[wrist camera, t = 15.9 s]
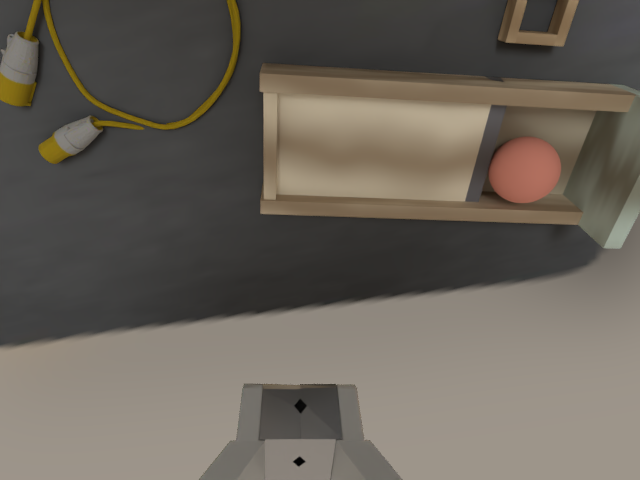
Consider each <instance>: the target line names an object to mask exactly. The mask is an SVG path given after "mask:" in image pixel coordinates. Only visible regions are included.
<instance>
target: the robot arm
mask: <svg viewBox="0 0 640 480" xmlns="http://www.w3.org/2000/svg"><path fill="white" fill-rule="evenodd" d="M199 480H402V479H401V477H400V476H399V475H398V474H397V473H396V471H395V470H394V469H393V468H392V466H391V465H390V464H389V463H388V462H387V460H385V458H384V457H383V456H382V454H381V453H380V452H379V451H378V449H377V448H376V447H375V446H374V445H373V444H372V442H371V441H370V440H364V435H363V429H362V421H361V414H360V408H359V401H358V395H357V388H356V386H355V385H336V384H304V385H303V384H300V385H278V384H244V386H243V389H242V397H241V406H240V413H239V421H238V429H237V438H236V441H230V442H229V443H228V444H227V446H226V447H225V448H224V449H223V450H222V452H221V453H220V454H219V455H218V457H217V458H216V459H215V460H214V462H213V463H212V464H211V465H210V466H209V468H208V469H207V470H206V471H205V473H204V474H203V475H202V476H201V478H200V479H199Z"/></svg>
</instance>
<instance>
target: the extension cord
mask: <svg viewBox="0 0 640 480" xmlns="http://www.w3.org/2000/svg"><path fill="white" fill-rule="evenodd" d="M41 1H42V3H43V10H44V14H45V18H46V22H47V25H48V29H49V32H50V34H51V37H52V40H53V42H54V45H55V47H56V49H57V51H58V53H59V55H60V57H61V59H62V61H63V63H64V65H65V67H66V69H67V71H68V72H69V74H70V76H71V78H72V80H73V81H74V83H75V84H76V86H77V87H78V89H79V90H80V92H81V93H82V94H83V95H84V96H85V97H86V98H87V99H88V100H89V101H90V102H92V103H93V104H94V105H96V106H98V107H99V108H101V109H103V110H105V111H107V112H109V113H112V114H114V115H117V116H120V117H123V118H125V119H128V120H131V121H134V122H137V123H140V124H144V125H147V126H150V127H153V128H158V129H164V130H166V129H176V128H179V127H182V126H185V125H187V124H189V123H191V122H193V121H195V120H196V119H197V118H199V117H200V116H201V115H202V114H204V113H205V112H206V111H207V110H208V109H209V108H210V107H211V106H212V105H213V103H214V102H215V101H216V100H217V98H218V97H219V96H220V94H221V93H222V91H223V90H224V88H225V87H226V85H227V83H228V82H229V80H230V78H231V76H232V74H233V72H234V69H235V66H236V62H237V57H238V51H239V44H240V24H241V23H240V17H239V10H238V7H237V4H236V1H235V0H227V3H228V8H229V12H230V17H231V23H232V30H233V52H232V56H231V59H230V63H229V66H228V68H227V71H226V73H225V75H224V78H223V80H222V81H221V83H220V85H219V87H218V88H217V89H216V90H215V92H214V93H213V94H212V95H211V96H210V97H209V98H208V100H207V101H205V102H204V103H203V104H202V105H201V106H200V107H199V108H198V109H197V110H196V111H195V112H194V113H193V114H192V115H191V116H189V117H188V118H186V119H184V120H181V121H178V122H173V123H167V125H164V124H158V123H154V122H151V121H148V120H145V119H141V118H138V117H135V116H132V115H129V114H127V113H124V112H121V111H119V110H116V109H113V108H111V107H109V106H107V105H105V104H103V103H101V102H99V101H98V100H96V99H95V98H94V97H93V96H91V95H90V94H89V92H88V91H87V90H86V89H85V88H84V86H83V85H82V83H81V82H80V80H79V79H78V77H77V75H76V74H75V72H74V70H73V68H72V66H71V64H70V63H69V61H68V59H67V57H66V55H65V53H64V51H63V49H62V46H61V44H60V42H59V39H58V36H57V34H56V31H55V28H54V24H53V20H52V16H51V12H50V6H49V0H34V2H33V5H32V9H31V13H30V16H29V20H28V24H27V27H26V31H25V32H21V31H18V32H16V33H15V34H9V35H8V37H7V49H6V50H3V49H1V52H2V54H3V58H2V62H1V66H0V100H2V101H3V102H6V103H8V104H11V105H15V106H31V101H32V98H33V94H34V91H35V87H36V84H37V82H35V78H36V75H37V67H38V44H39V41H38V39H37V38H36V37H34V36H32V33H33V29H34V26H35V22H36V19H37V15H38V11H39V8H40V4H41ZM10 36H12V38H11V37H10ZM103 126H113V127H121V128H128V129H136V130H142V129H144V128H143V127H141V126H138V125H134V124H129V123H123V122H115V121H99V120H98V119H97V118H96V117H94V116H92V115H89V116H88V117H86V118H83V119H80V120H77V121H75V122H72V123H70V124H66V125H64V126H63V127H61V128H60V129H58V130H57V131H55V132H54V133H53V135H52V137H50V138H49V139H47V140H46V141H44V142H43V143H41V144H40V145H39V151H40V153H41V155H42V156H43V157H44V158H45V159H46V160H47V161H48V162H50V163H53V164H57V163H59V162H60V161H62V160H64V159H65V158H67V157H68V156H73V155H75V154H77V153H78V152H80V151H82V150H83V149H85V148H86V147H87V146H88V145H89V144H90V143H91V142H92V141H93V140H94V139H95V138H96V137H97V135H98V134H99V133H100V132H102V131H103Z"/></svg>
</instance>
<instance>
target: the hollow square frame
mask: <svg viewBox="0 0 640 480" xmlns="http://www.w3.org/2000/svg"><path fill="white" fill-rule="evenodd" d="M578 2H579V0H557V4H556V7H555V10H554V13H553V16H552V19H551V23H550V26H549V29H548V32H539V31H525V30H519V28H520V25H521V21H522V18H523V14H524V11H525V7H526V4H527V0H508V2H507V6H506V10H505V13H504V17H503V21H502V25H501V29H500V33H499V36H498V40H500V41H503V42H505V43H520V44H534V45H549V46H564V43H565V40H566V37H567V34H568V31H569V28H570V25H571V22H572V19H573V17H574V14H575V11H576V8H577V5H578Z"/></svg>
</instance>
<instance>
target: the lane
mask: <svg viewBox="0 0 640 480" xmlns="http://www.w3.org/2000/svg"><path fill="white" fill-rule="evenodd" d="M260 92H263V100H264V181H263V186H262V193H261V200H260V203H261V214H279V215H308V216H337V217H366V218H395V219H424V220H453V221H482V222H511V223H541V224H570V225H579V226H580V227H581V228H582V229H583V230H584V231H585V232H586V233H587V234H589V235H590V236H591V237H592V238H593V239H594V240H595V241H596V242H597V243H598V244H599V245H600V246H601V247H603V248H617V249H620V248H621V247H622V245H623V243H624V241H625V239H626V237H627V235H628V233H629V232H630V230H631V228H632V226H633V224H634V222H635V220H636V218H637V216H638V214H639V212H640V91H637V90H635V89H632V88H629V87H627V86H624V85H616V84H599V83H583V82H567V81H550V80H534V79H518V78H501V77H485V76H468V75H452V74H436V73H419V72H403V71H387V70H370V69H354V68H337V67H321V66H305V65H288V64H272V63H263V64H262V67H261V71H260ZM518 137H536V138H539V139H542V140H544V141H546V142H548V143H549V144H550V145H551V146H552V147H553V148H554V149H555V150H556V152H557V154H558V155H559V158H560V162H561V173H560V177H559V180H558V182H557V184H556V186H555V187H554V188H553V190H552V191H551V192H550V193H549V194H547V195H546V196H545V197H543V198H541V199H539V200H537V201H534V202H530V203H514V202H511V201H508V200H506V199H504V198H502V197H501V196H499V195H498V194H497V193H496V192H495V190H494V189H493V187H492V186H491V183H490V181H489V176H488V169H489V165H490V161H491V158H492V156H493V155H494V153H495V152H496V151H497V149H498V148H499V147H500V146H502V145H503V144H504V143H506V142H508V141H510V140H512V139H515V138H518Z"/></svg>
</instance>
